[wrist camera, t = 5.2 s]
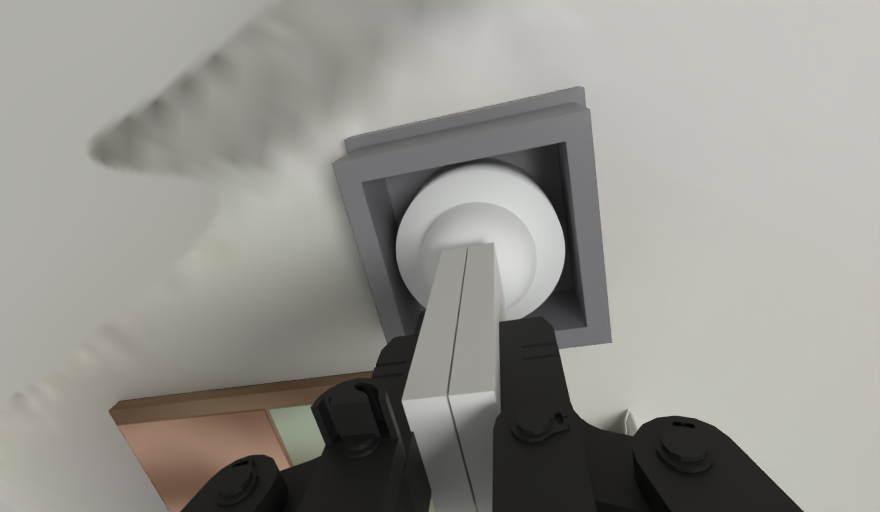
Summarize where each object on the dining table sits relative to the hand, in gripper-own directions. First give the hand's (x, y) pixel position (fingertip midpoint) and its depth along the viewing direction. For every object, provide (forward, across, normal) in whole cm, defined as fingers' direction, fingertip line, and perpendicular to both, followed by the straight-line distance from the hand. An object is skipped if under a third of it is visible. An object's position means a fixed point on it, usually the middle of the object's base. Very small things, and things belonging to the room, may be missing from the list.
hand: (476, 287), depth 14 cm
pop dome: (+5, 0, 0) cm, 5 cm away
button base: (+6, 0, 0) cm, 6 cm away
